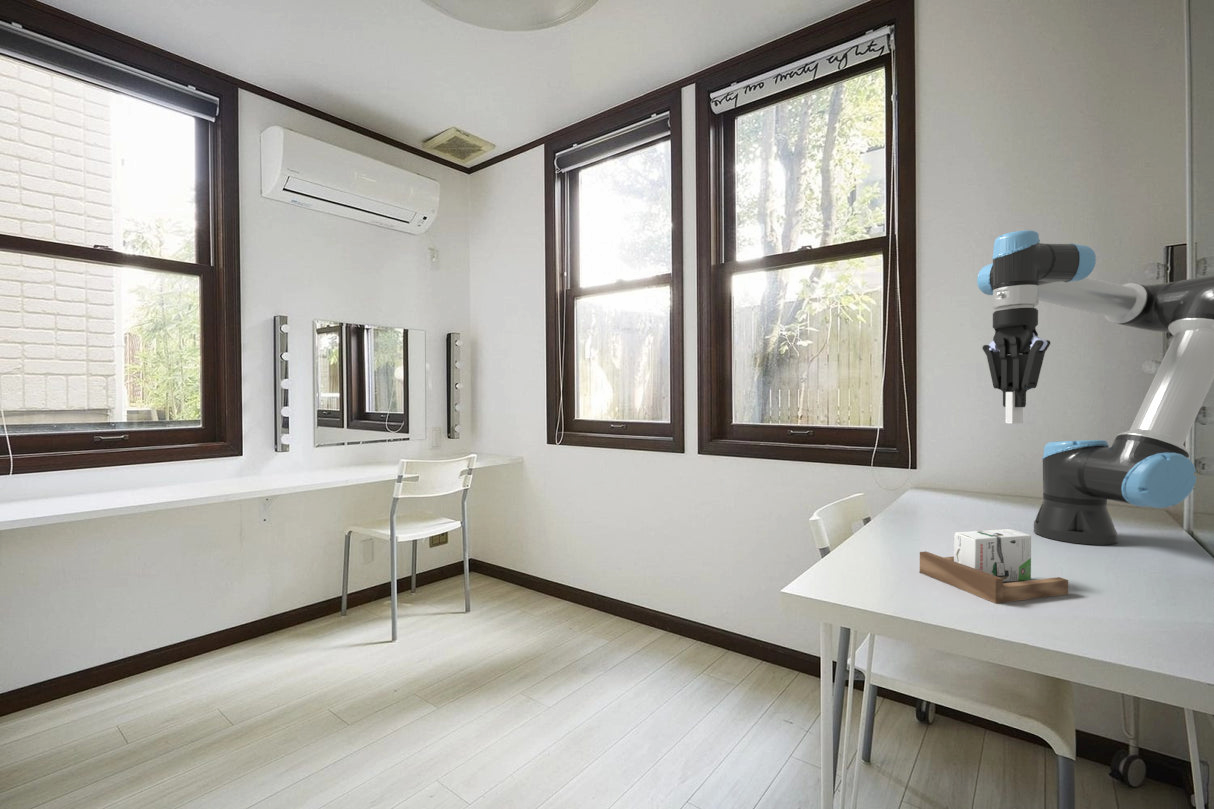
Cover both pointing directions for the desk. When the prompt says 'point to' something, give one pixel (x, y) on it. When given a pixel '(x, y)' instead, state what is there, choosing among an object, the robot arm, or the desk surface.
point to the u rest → (988, 581)
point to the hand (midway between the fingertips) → (1014, 423)
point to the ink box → (995, 553)
